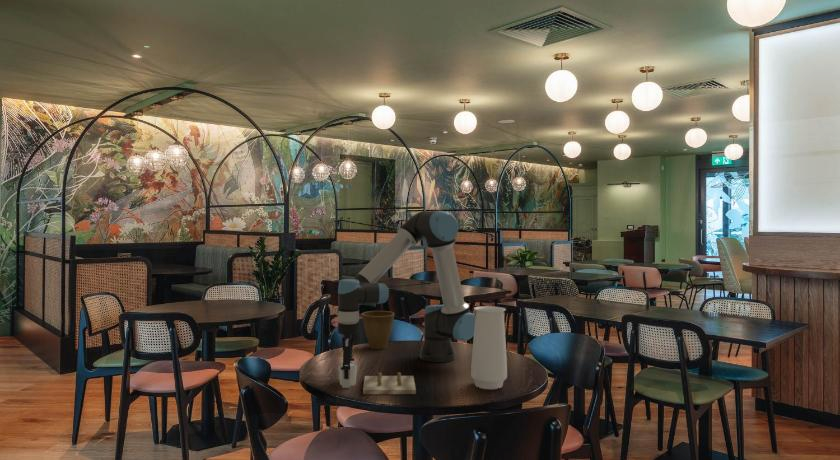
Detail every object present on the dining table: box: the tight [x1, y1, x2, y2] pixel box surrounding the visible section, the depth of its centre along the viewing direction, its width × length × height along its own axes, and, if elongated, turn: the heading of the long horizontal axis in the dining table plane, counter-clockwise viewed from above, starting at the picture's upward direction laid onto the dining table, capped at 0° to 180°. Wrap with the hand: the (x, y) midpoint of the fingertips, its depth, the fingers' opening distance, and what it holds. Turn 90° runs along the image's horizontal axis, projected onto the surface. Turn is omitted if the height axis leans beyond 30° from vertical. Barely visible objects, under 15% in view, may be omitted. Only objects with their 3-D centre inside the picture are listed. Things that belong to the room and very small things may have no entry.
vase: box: [470, 305, 508, 390], centre depth 215 cm, size 13×13×28 cm
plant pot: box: [361, 310, 395, 350], centre depth 276 cm, size 15×15×16 cm
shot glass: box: [338, 362, 358, 387], centre depth 215 cm, size 7×7×7 cm
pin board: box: [362, 372, 417, 395], centre depth 212 cm, size 18×18×4 cm
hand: (347, 383), depth 215 cm, fingers open, 10 cm apart
